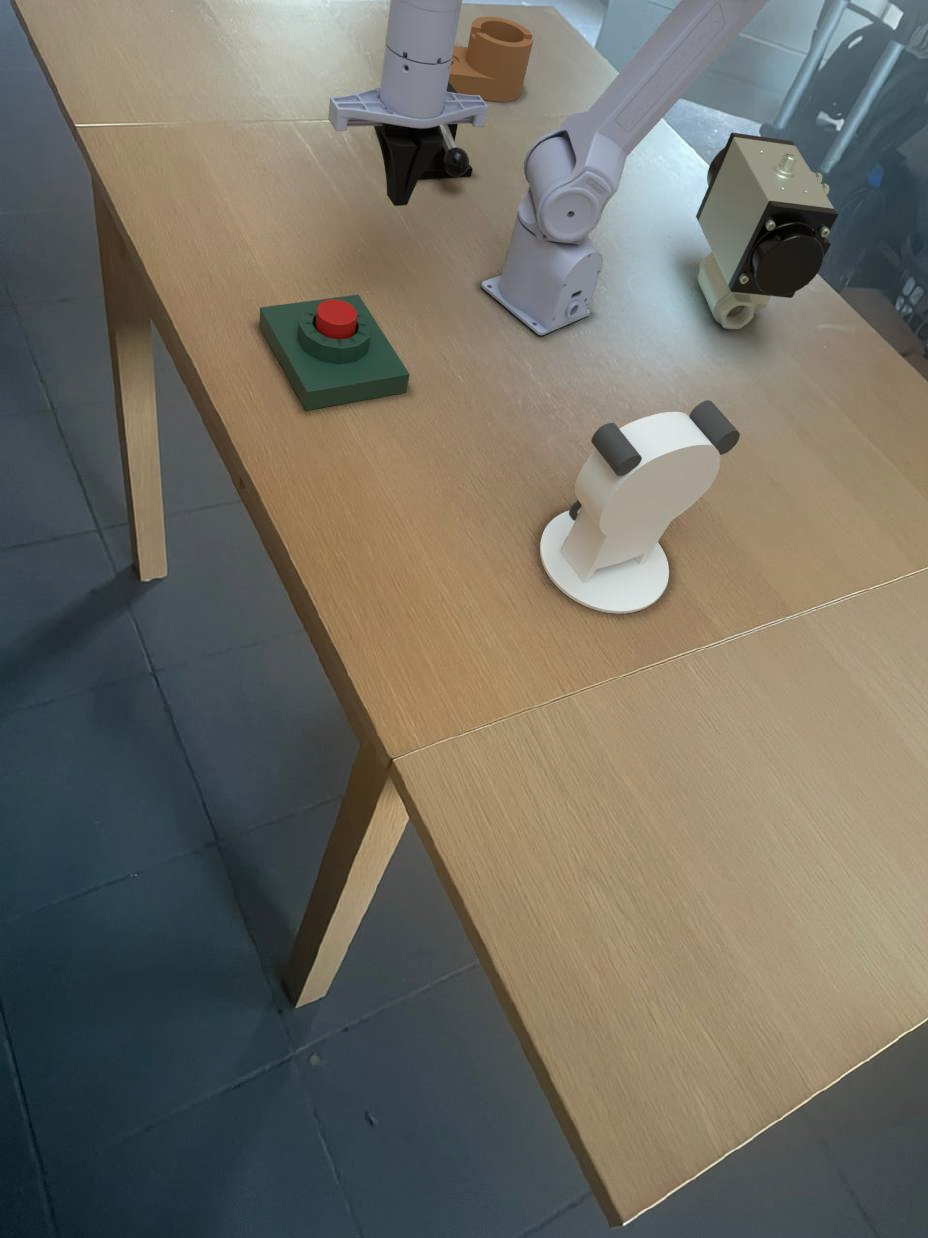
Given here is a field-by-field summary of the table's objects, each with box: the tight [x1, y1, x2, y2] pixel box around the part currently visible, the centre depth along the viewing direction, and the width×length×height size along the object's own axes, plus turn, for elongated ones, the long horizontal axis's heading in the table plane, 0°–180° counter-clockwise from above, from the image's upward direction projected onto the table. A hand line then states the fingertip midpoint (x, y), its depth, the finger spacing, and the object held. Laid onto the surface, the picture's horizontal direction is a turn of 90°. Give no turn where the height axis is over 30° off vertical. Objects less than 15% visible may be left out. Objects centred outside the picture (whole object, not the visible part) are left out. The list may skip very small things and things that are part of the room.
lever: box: [438, 124, 470, 178], centre depth 106 cm, size 11×3×3 cm, turn 26°
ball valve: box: [695, 132, 839, 330], centre depth 98 cm, size 18×8×18 cm, turn 7°
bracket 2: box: [448, 16, 534, 103], centre depth 122 cm, size 18×8×7 cm, turn 101°
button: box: [316, 300, 357, 340], centre depth 83 cm, size 4×4×2 cm
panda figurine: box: [539, 399, 741, 615], centre depth 73 cm, size 12×11×15 cm
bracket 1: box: [418, 81, 474, 181], centre depth 109 cm, size 10×8×8 cm
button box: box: [259, 294, 410, 411], centre depth 85 cm, size 12×10×4 cm
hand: (397, 199), depth 88 cm, fingers closed
